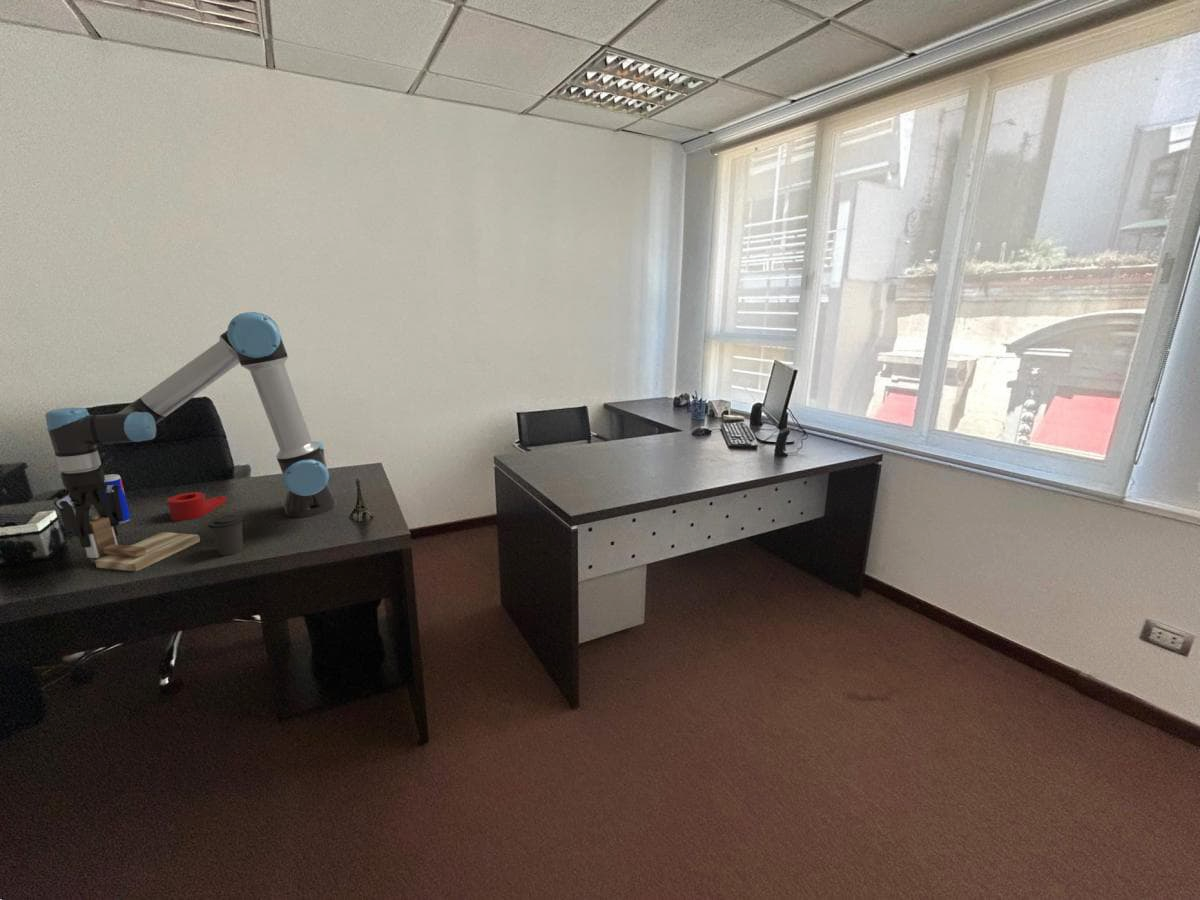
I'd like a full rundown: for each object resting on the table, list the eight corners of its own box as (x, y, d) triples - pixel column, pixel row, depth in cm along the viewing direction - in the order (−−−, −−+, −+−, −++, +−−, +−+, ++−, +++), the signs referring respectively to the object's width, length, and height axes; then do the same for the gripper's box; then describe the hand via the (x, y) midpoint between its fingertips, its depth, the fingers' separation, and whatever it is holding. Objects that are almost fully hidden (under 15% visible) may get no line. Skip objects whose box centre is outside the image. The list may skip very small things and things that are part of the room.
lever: (189, 523, 158) (185, 503, 157) (163, 520, 160) (159, 501, 158) (237, 502, 176) (233, 485, 174) (213, 501, 177) (209, 483, 175)
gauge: (151, 559, 134) (140, 516, 131) (135, 566, 130) (124, 522, 127) (107, 555, 136) (96, 513, 133) (91, 562, 132) (79, 519, 129)
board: (200, 541, 145) (198, 534, 145) (136, 571, 128) (134, 564, 128) (164, 538, 147) (162, 531, 147) (96, 567, 130) (94, 560, 129)
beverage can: (134, 520, 159) (123, 475, 155) (113, 526, 155) (102, 480, 151) (126, 517, 161) (115, 473, 158) (105, 523, 157) (93, 477, 153)
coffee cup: (209, 560, 135) (202, 525, 132) (217, 547, 142) (211, 514, 139) (245, 555, 138) (239, 521, 135) (251, 543, 145) (246, 510, 142)
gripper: (105, 459, 136) (125, 538, 142) (27, 478, 120) (53, 567, 126) (129, 460, 135) (148, 540, 141) (53, 480, 118) (78, 569, 125)
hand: (103, 552), depth 133 cm, fingers closed on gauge, 4 cm apart
